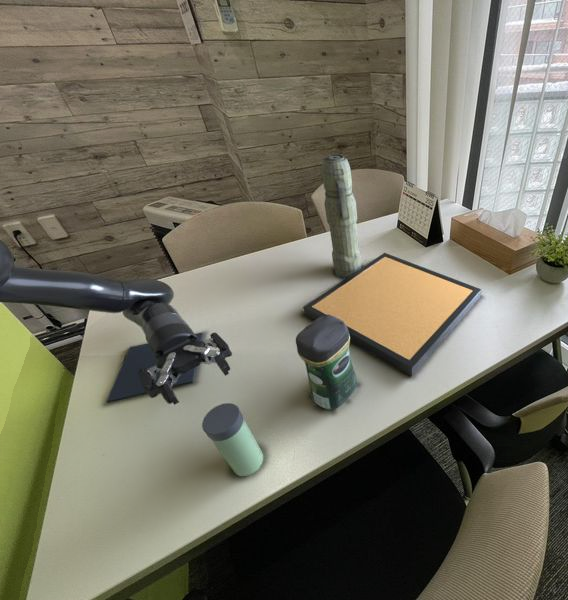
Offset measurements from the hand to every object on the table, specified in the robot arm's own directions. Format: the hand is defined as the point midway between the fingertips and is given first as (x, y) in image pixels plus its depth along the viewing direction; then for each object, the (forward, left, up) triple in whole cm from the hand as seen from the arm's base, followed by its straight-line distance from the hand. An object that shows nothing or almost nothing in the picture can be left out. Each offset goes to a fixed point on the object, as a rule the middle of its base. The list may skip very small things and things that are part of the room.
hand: (201, 385), depth 56 cm
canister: (+5, -10, -11) cm, 16 cm away
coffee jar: (+22, 0, -12) cm, 25 cm away
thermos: (+34, +45, -12) cm, 58 cm away
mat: (-15, +20, -11) cm, 28 cm away
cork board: (+43, +23, -12) cm, 50 cm away
